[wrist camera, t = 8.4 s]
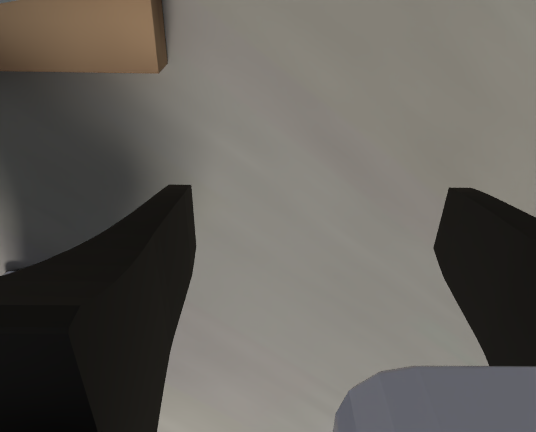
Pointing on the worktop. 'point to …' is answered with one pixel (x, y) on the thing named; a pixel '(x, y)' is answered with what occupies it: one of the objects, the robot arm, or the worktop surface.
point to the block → (3, 0)
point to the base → (82, 36)
